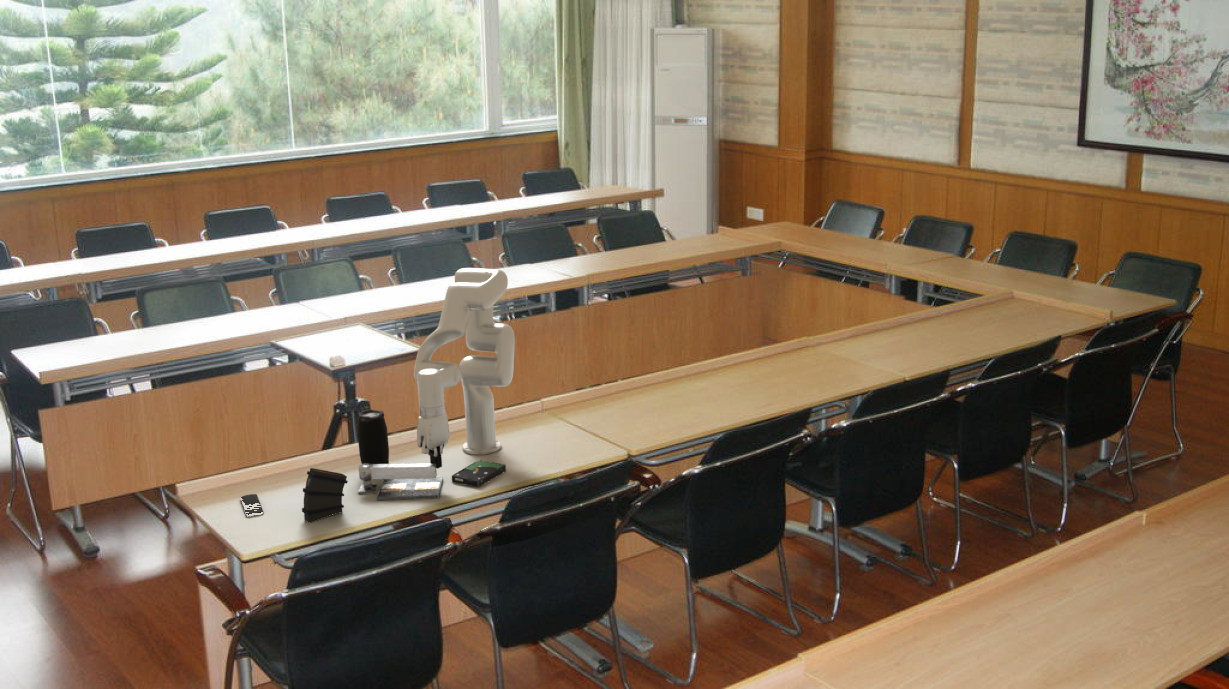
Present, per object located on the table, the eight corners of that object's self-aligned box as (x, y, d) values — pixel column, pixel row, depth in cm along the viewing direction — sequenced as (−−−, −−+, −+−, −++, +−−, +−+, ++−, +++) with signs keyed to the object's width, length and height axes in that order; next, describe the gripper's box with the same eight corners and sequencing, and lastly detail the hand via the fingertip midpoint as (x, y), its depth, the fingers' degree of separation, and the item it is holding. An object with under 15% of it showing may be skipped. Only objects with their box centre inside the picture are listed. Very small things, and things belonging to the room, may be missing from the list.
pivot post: (361, 487, 365) (360, 475, 364) (377, 486, 365) (376, 475, 364) (358, 494, 360) (357, 482, 359) (375, 493, 360) (374, 481, 359)
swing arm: (361, 474, 364) (360, 463, 362) (437, 474, 362) (436, 462, 361) (358, 480, 359) (356, 468, 358) (434, 479, 358) (433, 467, 357)
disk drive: (479, 489, 362) (506, 472, 375) (478, 481, 362) (506, 463, 374) (451, 484, 367) (479, 466, 380) (450, 475, 367) (478, 458, 379)
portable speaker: (395, 468, 379) (391, 410, 373) (377, 479, 371) (372, 419, 366) (374, 464, 383) (369, 406, 377) (355, 474, 375) (350, 415, 369)
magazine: (292, 517, 341) (308, 467, 341) (332, 523, 350) (348, 474, 350) (298, 521, 338) (314, 470, 338) (338, 527, 347) (354, 478, 347)
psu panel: (384, 482, 368) (384, 478, 368) (443, 480, 369) (442, 476, 368) (377, 500, 355) (376, 496, 355) (438, 498, 355) (437, 494, 355)
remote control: (264, 517, 348) (257, 497, 361) (263, 511, 347) (256, 491, 360) (246, 520, 346) (240, 500, 359) (246, 515, 345) (239, 494, 358)
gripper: (439, 400, 366) (443, 456, 371) (405, 415, 354) (410, 473, 359) (458, 404, 362) (461, 461, 367) (425, 419, 350) (429, 477, 355)
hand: (436, 466), depth 363 cm, fingers closed
